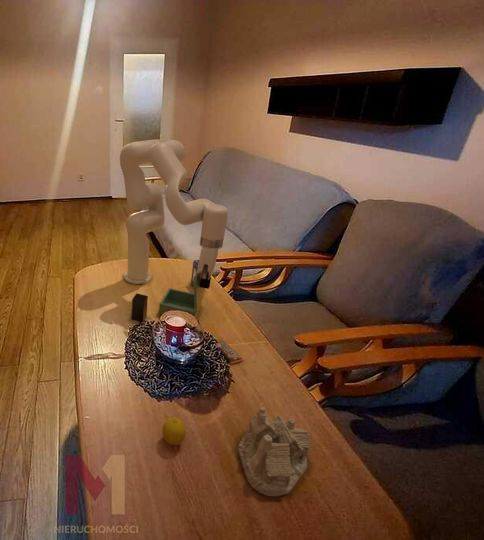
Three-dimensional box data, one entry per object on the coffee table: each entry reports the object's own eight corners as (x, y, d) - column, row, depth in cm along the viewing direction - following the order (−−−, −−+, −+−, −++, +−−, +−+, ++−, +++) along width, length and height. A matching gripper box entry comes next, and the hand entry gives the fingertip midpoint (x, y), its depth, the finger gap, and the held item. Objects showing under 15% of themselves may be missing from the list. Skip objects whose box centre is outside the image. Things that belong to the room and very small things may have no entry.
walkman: (190, 283, 156) (193, 259, 151) (196, 282, 157) (199, 258, 151) (198, 292, 150) (201, 267, 144) (204, 291, 150) (208, 267, 144)
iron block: (135, 314, 136) (136, 293, 131) (146, 317, 134) (147, 295, 130) (131, 321, 133) (132, 299, 128) (142, 324, 131) (143, 301, 126)
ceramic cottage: (244, 490, 77) (262, 445, 70) (233, 429, 91) (247, 386, 84) (320, 508, 74) (347, 463, 67) (297, 441, 89) (317, 399, 82)
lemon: (159, 433, 90) (161, 411, 86) (180, 431, 91) (183, 409, 87) (164, 452, 85) (167, 431, 82) (186, 450, 86) (190, 429, 82)
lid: (193, 276, 121) (196, 276, 120) (201, 261, 131) (203, 261, 130) (194, 311, 127) (196, 311, 126) (201, 294, 137) (204, 294, 136)
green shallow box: (158, 316, 135) (159, 303, 132) (168, 299, 145) (169, 288, 142) (193, 325, 130) (195, 312, 127) (201, 307, 139) (202, 295, 137)
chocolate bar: (210, 343, 120) (210, 342, 120) (222, 340, 122) (222, 338, 121) (231, 364, 111) (231, 363, 111) (243, 361, 112) (244, 359, 112)
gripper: (204, 232, 126) (198, 275, 135) (195, 247, 115) (189, 294, 123) (226, 235, 123) (218, 279, 132) (219, 251, 112) (211, 299, 120)
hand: (204, 286), depth 128 cm, fingers closed
